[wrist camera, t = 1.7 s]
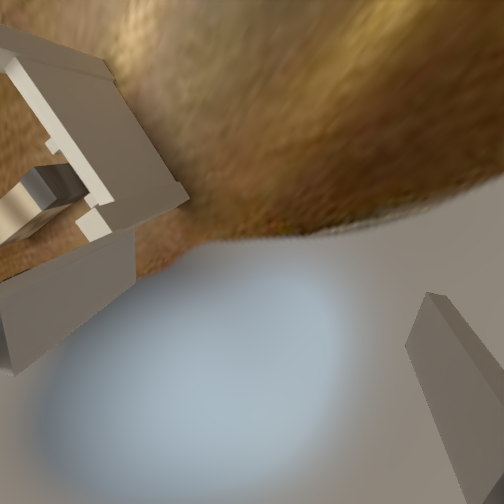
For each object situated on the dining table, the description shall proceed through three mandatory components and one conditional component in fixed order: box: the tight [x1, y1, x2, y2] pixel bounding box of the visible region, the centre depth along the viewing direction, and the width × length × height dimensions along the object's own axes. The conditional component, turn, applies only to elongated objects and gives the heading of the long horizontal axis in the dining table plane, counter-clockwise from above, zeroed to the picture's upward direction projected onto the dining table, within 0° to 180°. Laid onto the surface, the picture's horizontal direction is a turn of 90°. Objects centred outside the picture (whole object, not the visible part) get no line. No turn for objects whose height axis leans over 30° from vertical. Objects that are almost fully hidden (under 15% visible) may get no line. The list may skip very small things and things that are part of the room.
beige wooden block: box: [0, 163, 89, 247], centre depth 40 cm, size 14×4×5 cm, turn 122°
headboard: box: [0, 23, 190, 242], centre depth 30 cm, size 18×9×15 cm, turn 32°
